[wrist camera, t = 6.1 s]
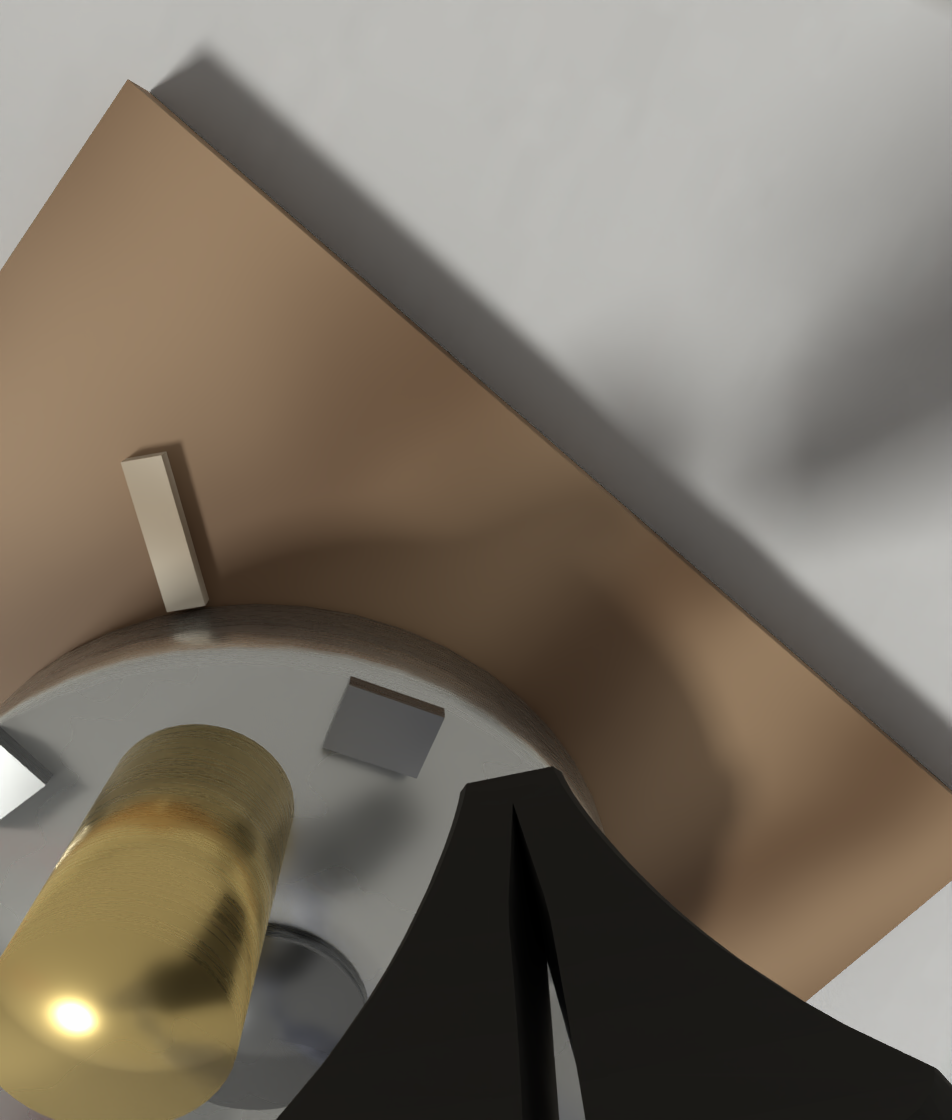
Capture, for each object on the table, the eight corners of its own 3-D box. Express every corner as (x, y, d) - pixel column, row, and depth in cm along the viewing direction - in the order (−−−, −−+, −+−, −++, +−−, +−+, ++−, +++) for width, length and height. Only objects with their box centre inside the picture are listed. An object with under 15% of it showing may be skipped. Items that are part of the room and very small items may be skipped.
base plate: (974, 810, 20) (1011, 847, 18) (368, 1323, 24) (365, 1379, 23) (148, 91, 14) (121, 75, 13) (-427, 944, 19) (-487, 992, 17)
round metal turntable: (583, 556, 16) (696, 772, 9) (630, 1105, 20) (726, 1507, 14) (-178, 658, 16) (-617, 951, 9) (45, 1186, 20) (-137, 1632, 14)
